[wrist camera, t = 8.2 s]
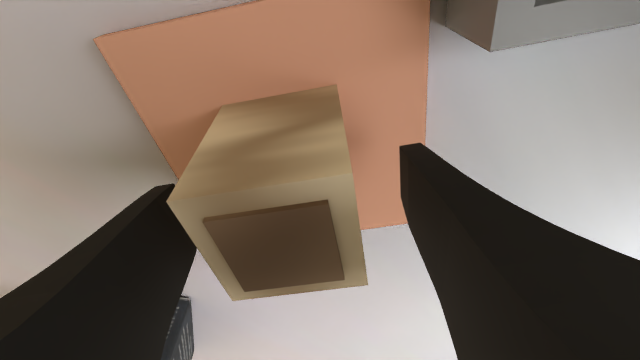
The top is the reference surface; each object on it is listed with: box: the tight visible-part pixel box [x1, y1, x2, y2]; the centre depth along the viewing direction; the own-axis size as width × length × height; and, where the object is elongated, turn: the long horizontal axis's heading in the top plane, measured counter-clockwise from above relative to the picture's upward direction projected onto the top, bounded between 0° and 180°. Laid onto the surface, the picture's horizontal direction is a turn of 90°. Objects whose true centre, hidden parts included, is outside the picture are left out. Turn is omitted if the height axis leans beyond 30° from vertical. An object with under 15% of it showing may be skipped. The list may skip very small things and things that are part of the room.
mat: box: [93, 0, 430, 230], centre depth 12 cm, size 10×10×1 cm
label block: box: [166, 84, 368, 301], centre depth 9 cm, size 4×4×5 cm
